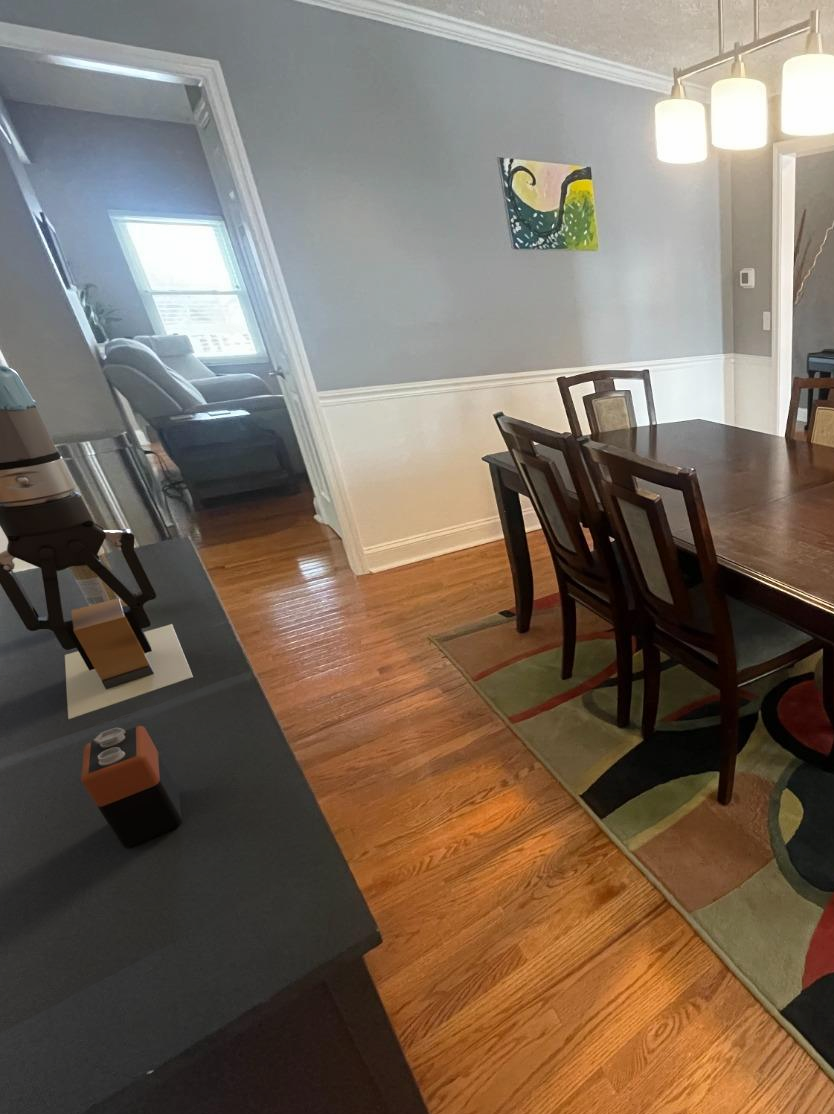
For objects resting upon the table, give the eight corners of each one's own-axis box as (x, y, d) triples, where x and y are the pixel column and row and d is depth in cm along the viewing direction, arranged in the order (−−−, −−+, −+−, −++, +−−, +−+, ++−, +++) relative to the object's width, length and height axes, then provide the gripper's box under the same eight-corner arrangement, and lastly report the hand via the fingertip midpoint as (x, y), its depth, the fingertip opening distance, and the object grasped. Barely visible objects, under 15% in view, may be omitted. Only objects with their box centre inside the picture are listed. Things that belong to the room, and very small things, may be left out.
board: (67, 660, 88) (64, 654, 88) (174, 629, 96) (171, 623, 96) (71, 725, 74) (68, 719, 74) (196, 682, 82) (193, 676, 82)
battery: (180, 789, 64) (139, 715, 60) (183, 826, 60) (140, 748, 56) (124, 812, 62) (78, 736, 57) (124, 852, 57) (73, 772, 53)
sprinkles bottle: (143, 614, 101) (107, 540, 95) (112, 627, 97) (73, 552, 91) (122, 612, 102) (84, 539, 96) (90, 625, 98) (49, 550, 92)
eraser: (101, 663, 85) (70, 609, 81) (146, 649, 88) (119, 596, 85) (106, 689, 80) (73, 632, 76) (154, 673, 83) (125, 617, 79)
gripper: (-86, 523, 65) (24, 697, 75) (136, 486, 77) (207, 640, 86) (-78, 509, 70) (25, 674, 79) (131, 476, 82) (199, 623, 91)
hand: (120, 656), depth 83 cm, fingers closed on eraser, 5 cm apart
